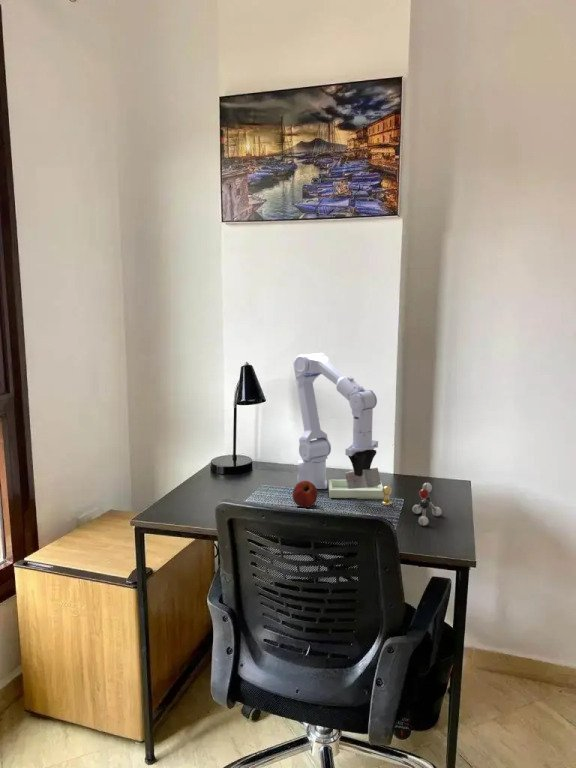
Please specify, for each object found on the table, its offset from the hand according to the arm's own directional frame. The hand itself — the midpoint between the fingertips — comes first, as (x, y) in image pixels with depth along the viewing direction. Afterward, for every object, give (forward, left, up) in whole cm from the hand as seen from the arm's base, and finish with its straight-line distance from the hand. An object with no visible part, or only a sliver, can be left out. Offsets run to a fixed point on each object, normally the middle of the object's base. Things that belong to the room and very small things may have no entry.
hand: (361, 474), depth 179 cm
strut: (+1, -1, -4) cm, 4 cm away
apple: (-17, -4, -9) cm, 20 cm away
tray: (-1, +8, -9) cm, 12 cm away
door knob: (+8, -1, -9) cm, 12 cm away
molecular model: (+17, -14, -9) cm, 24 cm away
